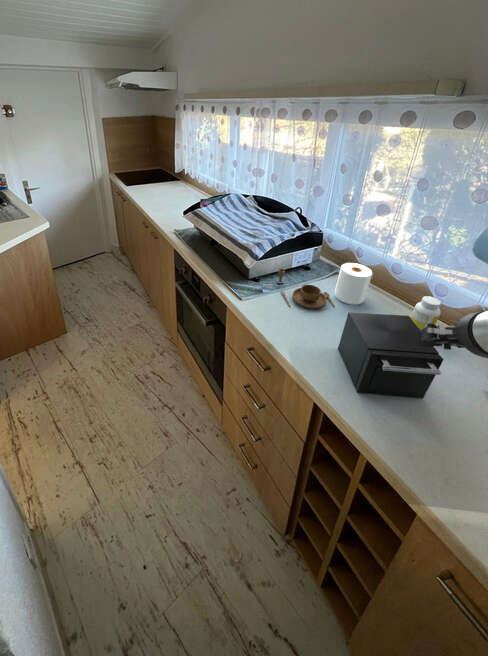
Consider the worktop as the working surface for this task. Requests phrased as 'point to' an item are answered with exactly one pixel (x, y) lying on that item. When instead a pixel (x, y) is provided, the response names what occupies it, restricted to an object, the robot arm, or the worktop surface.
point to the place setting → (307, 295)
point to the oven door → (398, 373)
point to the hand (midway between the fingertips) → (422, 340)
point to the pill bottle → (426, 312)
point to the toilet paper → (353, 283)
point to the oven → (377, 338)
